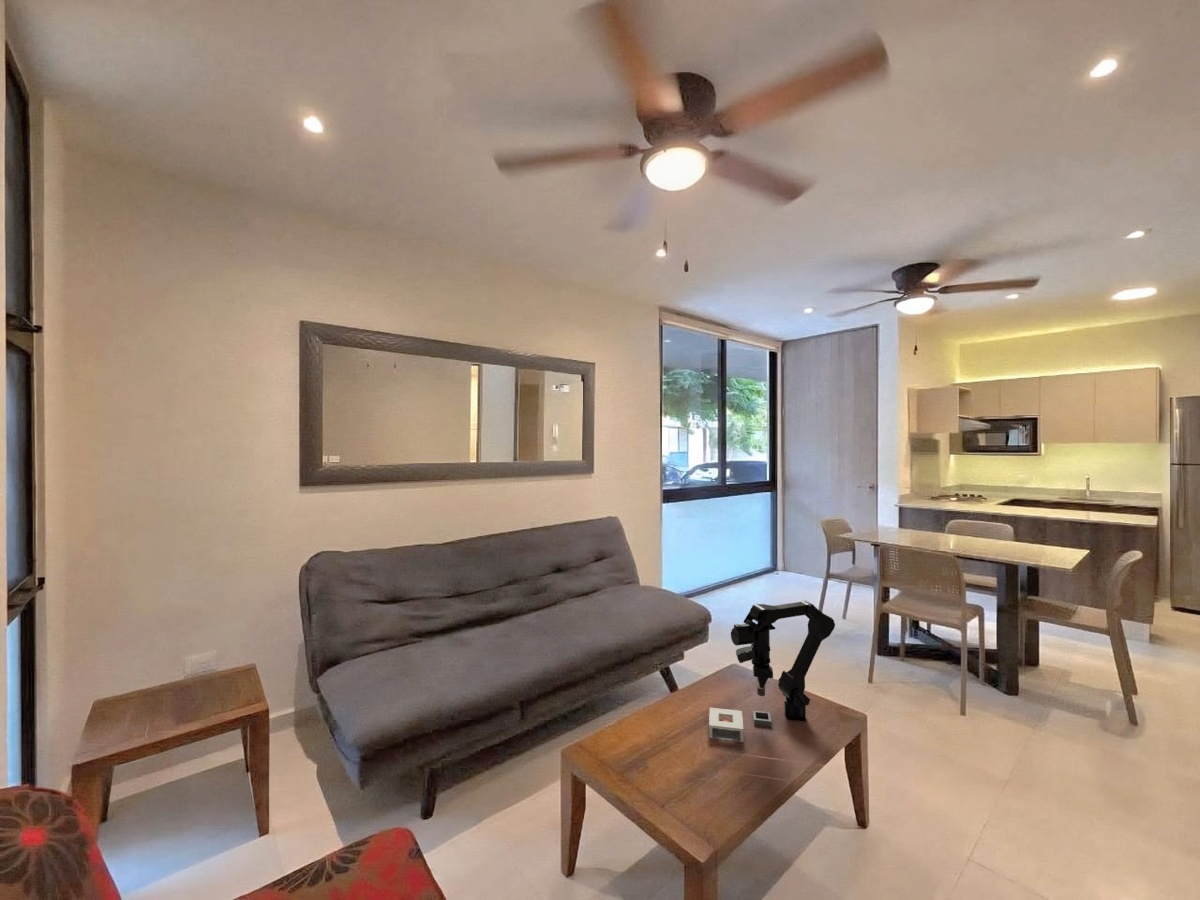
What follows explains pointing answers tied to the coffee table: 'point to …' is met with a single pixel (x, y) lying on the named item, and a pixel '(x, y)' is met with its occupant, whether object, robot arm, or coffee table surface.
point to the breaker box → (726, 725)
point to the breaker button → (725, 720)
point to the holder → (762, 718)
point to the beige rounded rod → (760, 689)
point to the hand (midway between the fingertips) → (761, 685)
